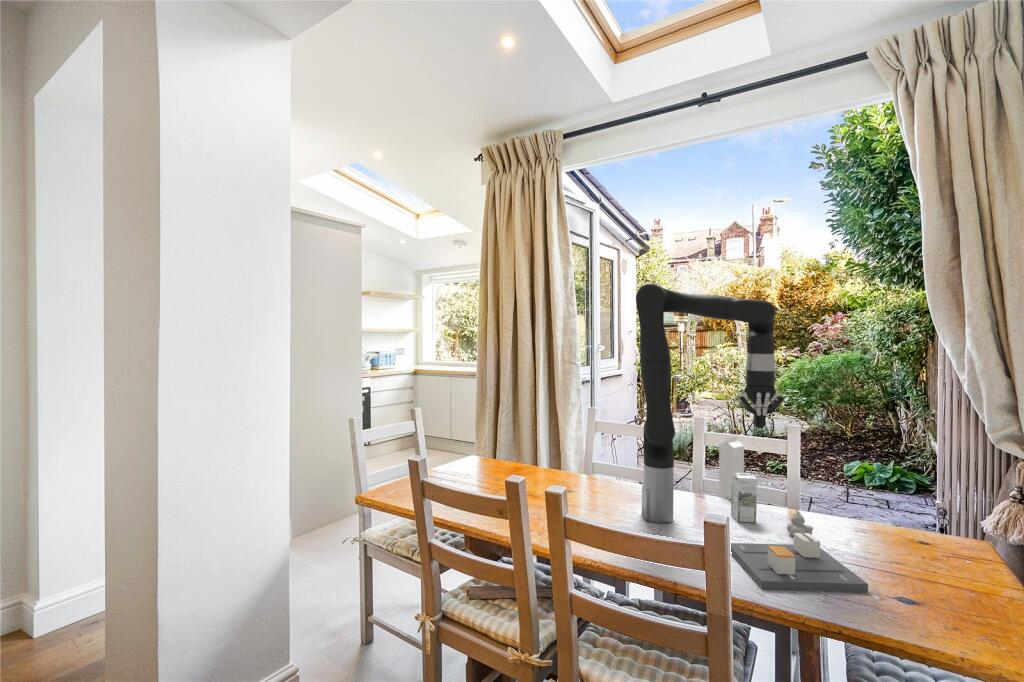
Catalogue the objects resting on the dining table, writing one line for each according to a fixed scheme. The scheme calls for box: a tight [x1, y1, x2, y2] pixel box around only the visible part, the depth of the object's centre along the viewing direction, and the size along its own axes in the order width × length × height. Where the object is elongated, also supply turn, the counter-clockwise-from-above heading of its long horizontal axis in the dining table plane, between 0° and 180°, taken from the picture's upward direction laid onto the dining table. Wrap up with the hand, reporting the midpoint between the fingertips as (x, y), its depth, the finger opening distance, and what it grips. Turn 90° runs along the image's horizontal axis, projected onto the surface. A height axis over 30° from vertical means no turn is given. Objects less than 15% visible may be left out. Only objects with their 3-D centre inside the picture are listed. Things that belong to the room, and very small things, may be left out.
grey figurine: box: [786, 509, 814, 537], centre depth 139 cm, size 5×7×8 cm
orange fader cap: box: [768, 546, 795, 574], centre depth 116 cm, size 4×5×4 cm
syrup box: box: [730, 472, 758, 524], centre depth 152 cm, size 6×6×14 cm
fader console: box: [730, 542, 869, 593], centre depth 120 cm, size 24×20×2 cm
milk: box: [718, 435, 745, 501], centre depth 173 cm, size 6×6×22 cm
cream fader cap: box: [792, 532, 821, 558], centre depth 124 cm, size 4×5×4 cm
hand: (759, 427), depth 139 cm, fingers closed
